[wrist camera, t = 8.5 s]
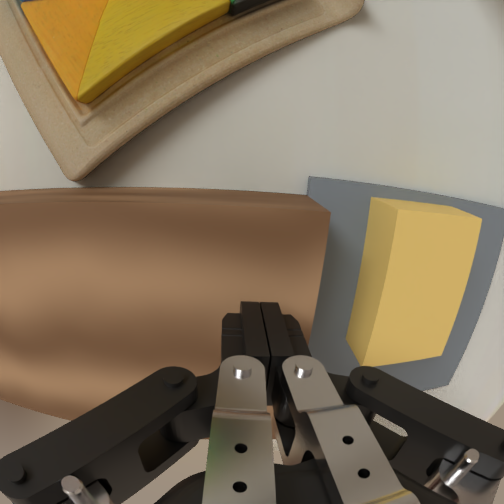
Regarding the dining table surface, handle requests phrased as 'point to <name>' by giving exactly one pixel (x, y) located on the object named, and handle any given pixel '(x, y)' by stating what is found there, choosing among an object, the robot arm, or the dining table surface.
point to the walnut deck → (141, 283)
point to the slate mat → (348, 268)
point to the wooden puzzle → (137, 60)
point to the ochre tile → (410, 280)
